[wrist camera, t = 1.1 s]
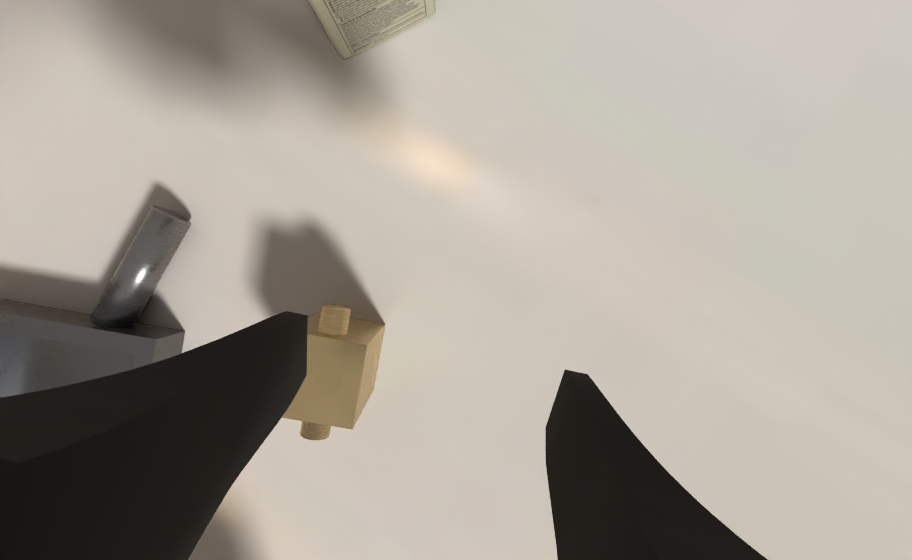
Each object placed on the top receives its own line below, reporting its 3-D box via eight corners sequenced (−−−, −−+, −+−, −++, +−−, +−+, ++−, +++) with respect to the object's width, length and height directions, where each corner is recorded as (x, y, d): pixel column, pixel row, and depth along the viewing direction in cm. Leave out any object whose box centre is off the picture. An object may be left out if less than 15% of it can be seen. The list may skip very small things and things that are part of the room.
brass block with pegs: (370, 408, 26) (347, 454, 20) (304, 397, 25) (261, 439, 19) (389, 304, 25) (371, 319, 19) (322, 292, 25) (284, 303, 19)
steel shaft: (140, 329, 25) (113, 335, 23) (109, 311, 25) (80, 316, 23) (198, 226, 25) (176, 223, 23) (167, 208, 25) (143, 203, 23)
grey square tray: (156, 509, 25) (125, 537, 23) (-31, 480, 25) (-84, 504, 23) (184, 331, 25) (156, 339, 22) (-7, 297, 25) (-58, 302, 22)
